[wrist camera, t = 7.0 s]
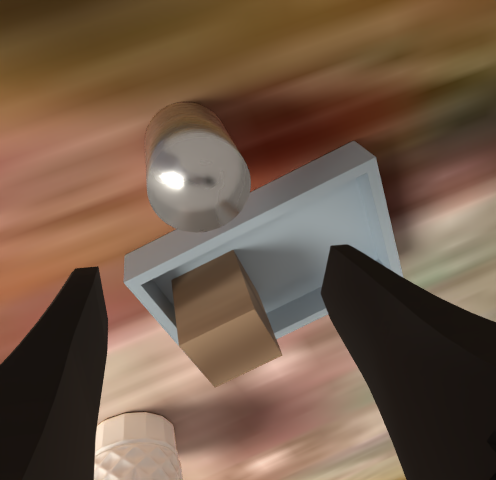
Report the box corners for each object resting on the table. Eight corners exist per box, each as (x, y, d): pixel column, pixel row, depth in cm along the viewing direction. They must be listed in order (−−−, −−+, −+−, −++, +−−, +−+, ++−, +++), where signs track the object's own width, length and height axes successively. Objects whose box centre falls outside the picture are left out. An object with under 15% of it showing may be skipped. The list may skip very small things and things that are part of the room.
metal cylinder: (127, 126, 18) (125, 169, 14) (204, 86, 18) (224, 118, 14) (170, 194, 21) (179, 247, 16) (239, 159, 20) (265, 204, 16)
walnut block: (171, 280, 23) (178, 345, 19) (233, 249, 23) (254, 309, 19) (202, 321, 25) (215, 387, 21) (258, 293, 25) (282, 355, 21)
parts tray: (124, 255, 22) (123, 282, 20) (353, 140, 21) (375, 157, 19) (198, 345, 27) (203, 374, 25) (383, 255, 27) (403, 277, 25)
